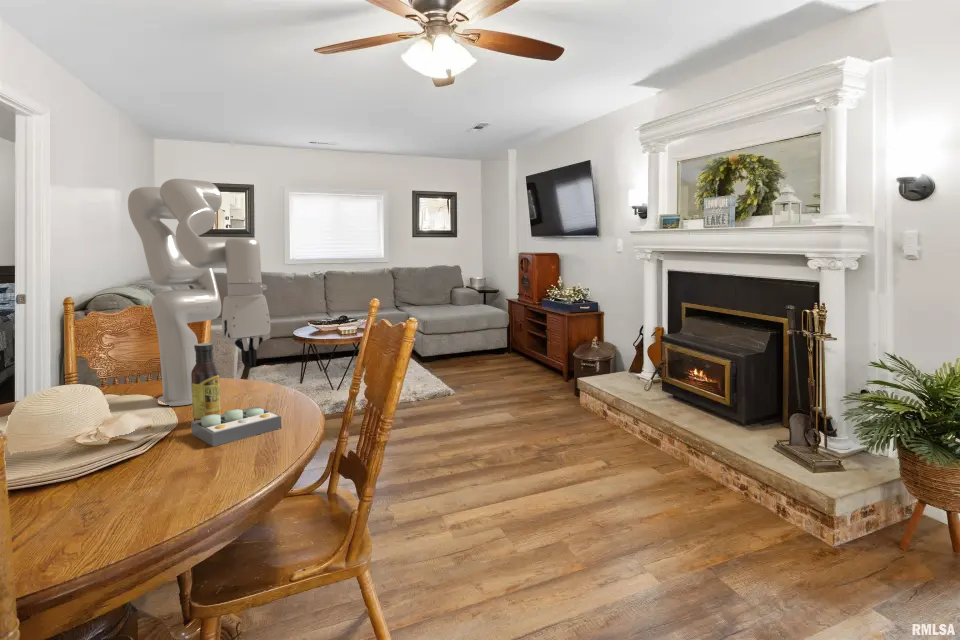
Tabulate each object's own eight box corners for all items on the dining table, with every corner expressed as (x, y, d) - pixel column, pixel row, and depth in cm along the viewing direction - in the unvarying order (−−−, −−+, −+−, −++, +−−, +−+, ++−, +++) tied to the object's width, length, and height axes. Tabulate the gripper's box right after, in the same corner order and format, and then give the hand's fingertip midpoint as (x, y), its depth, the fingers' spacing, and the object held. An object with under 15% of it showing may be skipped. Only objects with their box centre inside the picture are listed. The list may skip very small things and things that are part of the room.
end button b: (244, 422, 130) (243, 411, 130) (259, 418, 133) (259, 407, 133) (251, 426, 128) (250, 414, 127) (267, 422, 131) (266, 410, 130)
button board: (191, 434, 124) (190, 420, 123) (258, 417, 136) (257, 405, 135) (213, 446, 116) (212, 432, 115) (281, 428, 128) (280, 414, 127)
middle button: (222, 424, 126) (221, 412, 126) (238, 420, 129) (238, 408, 129) (229, 428, 124) (228, 415, 123) (246, 423, 127) (245, 411, 126)
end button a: (199, 429, 122) (198, 417, 122) (217, 425, 125) (216, 413, 125) (206, 433, 120) (205, 421, 119) (224, 429, 123) (223, 416, 122)
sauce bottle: (209, 427, 128) (204, 347, 126) (187, 425, 130) (181, 346, 127) (227, 418, 135) (222, 342, 132) (206, 417, 136) (200, 341, 133)
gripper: (267, 287, 134) (271, 358, 136) (205, 291, 122) (211, 368, 125) (282, 289, 129) (286, 362, 131) (219, 293, 117) (225, 373, 120)
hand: (249, 365), depth 128 cm, fingers closed
